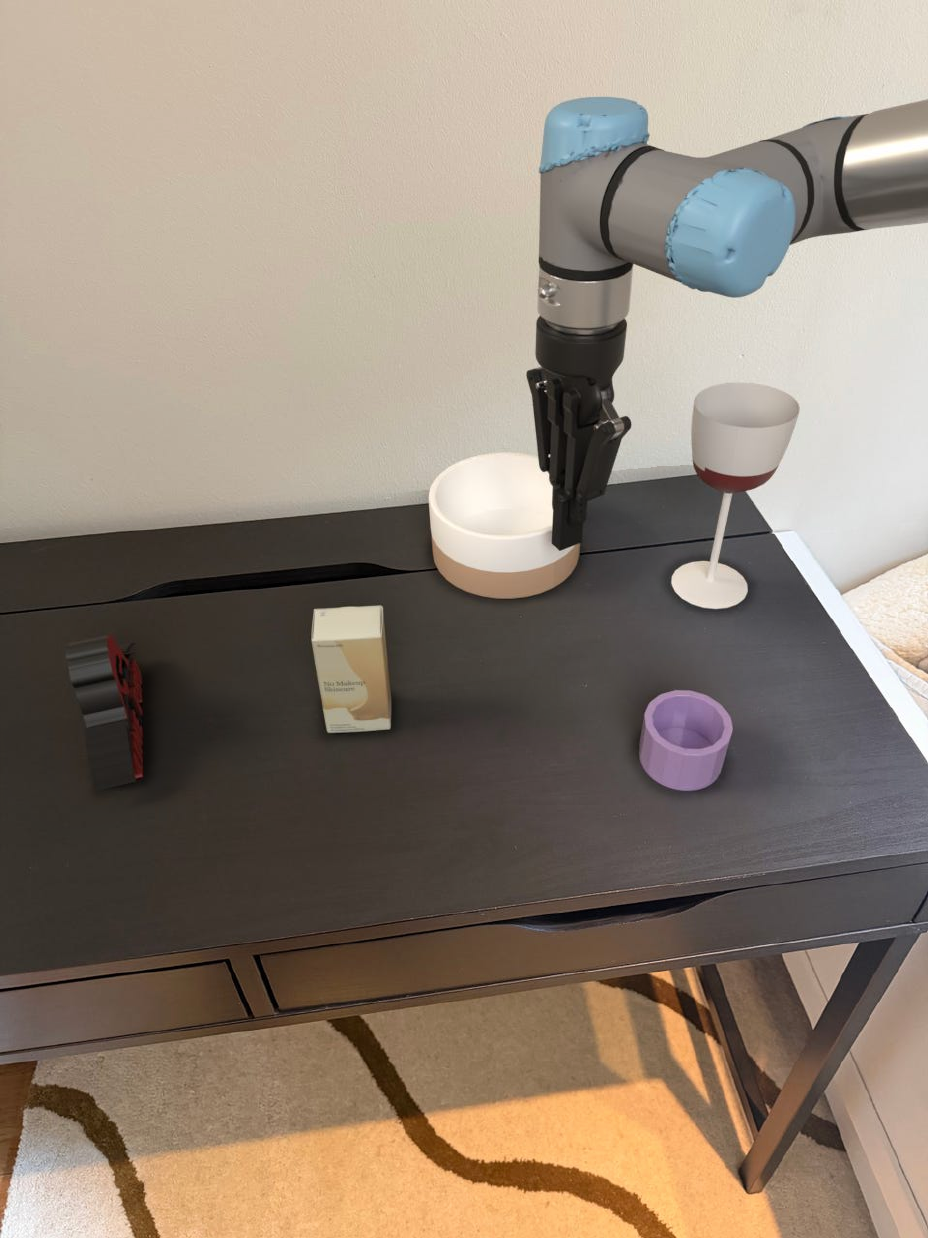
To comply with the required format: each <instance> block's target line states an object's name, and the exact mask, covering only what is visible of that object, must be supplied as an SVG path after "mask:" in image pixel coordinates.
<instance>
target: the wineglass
mask: <svg viewBox="0 0 928 1238" xmlns="http://www.w3.org/2000/svg"><path fill="white" fill-rule="evenodd" d="M692 407H693V408H692V415H691V416H692V417H691V429H690V431H691V440H690V441H691V456H692V465H693V469H694V471H695V473H696V475H697V477H698V478H699V479H700V480H701V481H702V482H703V483H704V484H706V485H707V486H709V487H711V488H713V489H715V490H717V491H721V492H723V495H722V499H721V505H720V510H719V514H718V520H717V524H716V529H715V535H714V539H713V544H712V548H711V554H710V559H709V561H708V560H700V561H698V560H697V561H691V562H688V563H684V564H682V565H681V566H679V567H678V568H677V569H675V570H674V571H673V574H672V575H671V582H670V583H671V587H672V588H673V590H674V592H675V594H676V595H678V596H679V597H680V598H681V599H682V600H684V601H686V602H687V603H689V604H691V605H693V606H696V607H700V608H702V609H710V610H711V609H712V610H719V609H720V610H721V609H728V608H731V607H734V606H736V605H738V604H740V603H741V602H742V601H744V600H745V598H746V596H747V594H748V591H749V590H748V582H747V581H746V579H745V578H744V576H743V575H742V574H741V573H740V572H738V571H737V570H736V569H734V568H732V567H730V566H729V565H727V564H723V563H720V562H719V559H720V553H721V549H722V545H723V540H724V536H725V531H726V525H727V521H728V516H729V513H730V512H729V511H730V506H731V502H732V497H733V493H734V494H735V493H744V492H748V491H752V490H754V489H755V490H756V488H759V487H761V486H763V485H765V484H766V483H767V482H769V480H771V478H772V477H773V476H774V475H775V473H776V471H777V469H778V468H779V466H780V464H781V462H782V460H783V458H784V455H785V453H786V450H787V449H788V446H789V443H790V441H791V438H792V436H793V433H794V430H795V427H796V424H797V422H798V418H799V414H800V410H801V409H800V404H799V403H798V401H797V400H796V398H795V397H793V396H792V395H790V394H789V393H788V392H786V391H783V390H781V389H779V388H776V387H773V386H769V385H765V384H761V383H754V382H723V383H719V384H715V385H711V386H708V387H706V388H703V389H702V390H700V391H699V392H698V393H697V394H696V396H694V401H693V406H692Z"/></svg>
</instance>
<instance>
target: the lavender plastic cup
mask: <svg viewBox="0 0 928 1238" xmlns="http://www.w3.org/2000/svg"><path fill="white" fill-rule="evenodd" d="M733 731H734V728H733V723H732V718H731V716H730V714H729V713H728V712H727V710H726V709H725V708H724V706H723V705H722V704H721V703H720V702H718V701H717V700H715V699H714V698H712V697H711V696H709V695H707V694H704V693H701V692H697V691H694V690H687V689H686V690H685V689H674V690H671V691H667V692H662V693H661V694H659V695H657V696H656V697H655V698H653V699H652V700H651V701H649V703H648V704H647V707H646V708H645V711H644V714H643V721H642V727H641V733H640V739H639V745H638V747H639V749H638V757H639V762H640V765H641V766H642V769H643V770H644V771H645V773H646V774H647V775H648V776H649V778H651V779H652V780H654V781H655V782H656V783H658V784H660V785H662V786H663V787H666V788H668V789H670V790H671V789H672V790H674V791H675V790H676V791H681V792H694V791H699V790H702V789H705V788H707V787H709V786H711V785H712V784H713V783H714V782H716V781H717V780H718V778H720V775H721V773H722V771H723V770H722V769H723V767H724V764H725V762H726V761H725V760H726V759H727V753H728V750H729V747H730V742H731V738H732V735H733Z"/></svg>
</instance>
